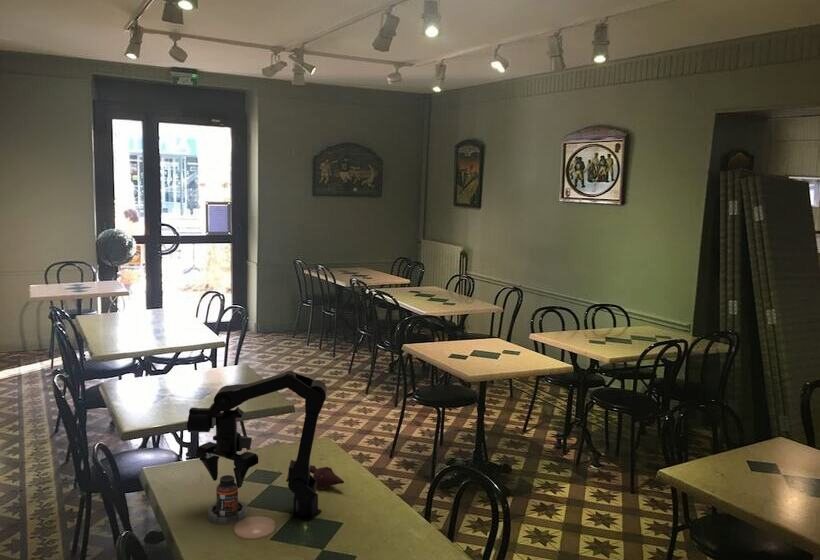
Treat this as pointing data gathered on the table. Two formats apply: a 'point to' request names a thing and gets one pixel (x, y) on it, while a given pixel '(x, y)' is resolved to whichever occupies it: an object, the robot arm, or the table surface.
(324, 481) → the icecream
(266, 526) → the terracotta saucer
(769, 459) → the table surface
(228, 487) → the supplement bottle
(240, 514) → the cup collar
